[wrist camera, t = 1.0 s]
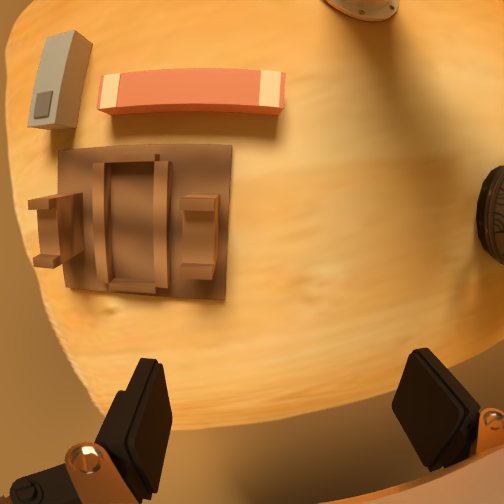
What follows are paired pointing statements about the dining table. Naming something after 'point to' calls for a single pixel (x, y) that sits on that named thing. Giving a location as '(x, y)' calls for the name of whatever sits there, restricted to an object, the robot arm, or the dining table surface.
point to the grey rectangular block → (60, 82)
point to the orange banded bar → (193, 91)
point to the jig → (139, 219)
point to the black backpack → (492, 214)
